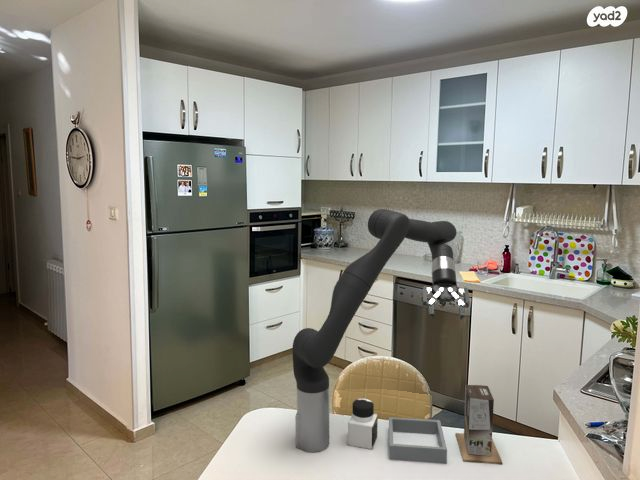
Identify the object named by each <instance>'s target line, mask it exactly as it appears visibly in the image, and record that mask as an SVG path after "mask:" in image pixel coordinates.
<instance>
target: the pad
mask: <svg viewBox="0 0 640 480" xmlns="http://www.w3.org/2000/svg"><path fill="white" fill-rule="evenodd" d="M455 438H456V441H457V444H458V448H459V452H460V455H461V459H462V462H464V463H476V464H478V463H479V464H490V465H491V464H492V465H503V461H502V458H501V456H500V453H499V451H498V448H497V447H496V446H497V445H496V444H495V441H494V439H493V438H492V447H491V456H483V455H474V454H468V453H467V448H466V444H465V439H464V432H462V433H459V432H455Z"/></svg>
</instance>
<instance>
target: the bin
mask: <svg viewBox="0 0 640 480" xmlns="http://www.w3.org/2000/svg"><path fill="white" fill-rule="evenodd" d="M394 433H407V434H408V433H409V434H422V435H425V434H426V435H435V436H436V438H437V443H438V446H429V445H419V444H417V445H416V444H415V445H414V444H402V443H401V444H400V443H394ZM388 452H389V454H388V455H389V456H388V457H389V460H390V461H392V460H393V461H404V462H405V461H406V462H418V463H419V462H421V463H431V464H433V463H434V464H445V465H446V464H448V448H447V444H446V439H445V436H444V431H443V426H442V423H441V420H440V419H427V418H410V417H395V416H394V417H393V416H392V417H391V416H389V417H388Z"/></svg>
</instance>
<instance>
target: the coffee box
mask: <svg viewBox="0 0 640 480" xmlns="http://www.w3.org/2000/svg"><path fill="white" fill-rule="evenodd" d="M464 389H465V391H464V417H463V419H464V421H463V422H464V424H463V425H464V426H463V433H464V439H465V444H466V448H467V453H468V454H474V455H483V456H491V447H492V439H493V424H494V422H493V421H494V405H495V404H494V403H495V399H494V397H493V394H492V392H491V390H490V388H489V386H488V385H484V384H483V385H482V384H480V385H479V384H465V387H464Z"/></svg>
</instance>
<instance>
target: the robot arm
mask: <svg viewBox="0 0 640 480" xmlns="http://www.w3.org/2000/svg"><path fill="white" fill-rule="evenodd" d="M367 229H368V232H369V234H370V235H371V236H372V237H375V238H376V239H379V241H378V242H377V243H376V245H374V246H373V248H372V249H371V250H370V251H368V252H367V253H365V254H363V255H362V256H360V257H359V258H356V260H354V261H352V262H351V263H350V264H349V265H348V266H346V267H345V269H344V270H343V272H342V273H341V274H340V277H339V278H338V279H337V281H336V283H335V285H334V286H333V290H332V295H331V302H330V309H329V312H328V315H327V317H326V319H325V321H324V323H323V324H322V326H321V328H319V330H316V329H314V328H313V327H306V328H302V329H301V330H299V331H298V332H297V333H296V335H295V336H294V338H293V341H292V342H293V343H292V347H291V348H292V351H291V352H292V367H293V376H294V379H295V382H296V413H295V417H294V418H295V448H297V449H301V450H302V451H304V452H309V453H318V452H321V451H325V450H326V449H328V447H329V445H330V377H329V375H328V373H327V371H326V370H325V368H324V367H326V366H327V365H328V364H329V363H330V362H331V361H332V359H333V357H334V356H335V354H336V352H337V350H338V348H339V346H340V344H341V341H342V340H343V337H344V335H345V333H346V331H347V330H348V327H349V325H350V323H351V322H352V320H353V318H354V316H355V315H356V313H357V311H358V309H359V308H360V307H361V305H362V304H363V301H365V300H366V297H367V295H368V294H369V293H370V291H371V289H372V287H373V285H374V283H376V280H377V278H378V277H379V275H380V274H381V272H382V270H383V269H384V267H385V266H386V264H387V263H388V262H389V261H390V259H391V258H392V257H393V255H394V253H395V252H396V251H397V249H398V248H399V247H400V245H401V244H402V242H403V241H404V240H405V239H408V240H411V241H415V242H419V243H427V244H428V247H429V250H430V253H431V278H432V279H431V282H432V283H431V284H432V287H428V286H427V285H424V286H423V288H422V301H421V302H422V303H421V304H422V306H423V307H425V306H426V307H427V309H428V316H429V317H430V318H431V319H434V317H435V306H434V305H436V304H437V303H438V302H441V303H442V302H448V303H451V302H452V303H453V304H454V305H455V306H456V307H458V314H459V320H463V318H465V315H466V311H465V308H467V309H468V308H469V307H470V304H471V300H470V293H469V289H468V287H464V288H459V287H458V285H457V274H456V264H455V261H454V259H455V258H454V253H453V252H454V251H453V247H452V246H451V245H449V244H448V243H449V242H451V241H453V240H455V239H456V237H457V228H456V226H455V225H454V224H453V223H452V222H450V221H447V220H438V221H427V220H420V219H413V218H409V217H408V215H406V214H405V213H402V212H398V211H394V210H391V209H386V208H378V209H376V210H374V211H373V212H372V213H371V215H370V216H369V218H368V221H367ZM430 293H431V294H432V295H433V296H432V297H431V299H430V300H428V295H430ZM459 294H460V295H461V296H462V297H463V300H462V299H461V297H460V296H459Z"/></svg>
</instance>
